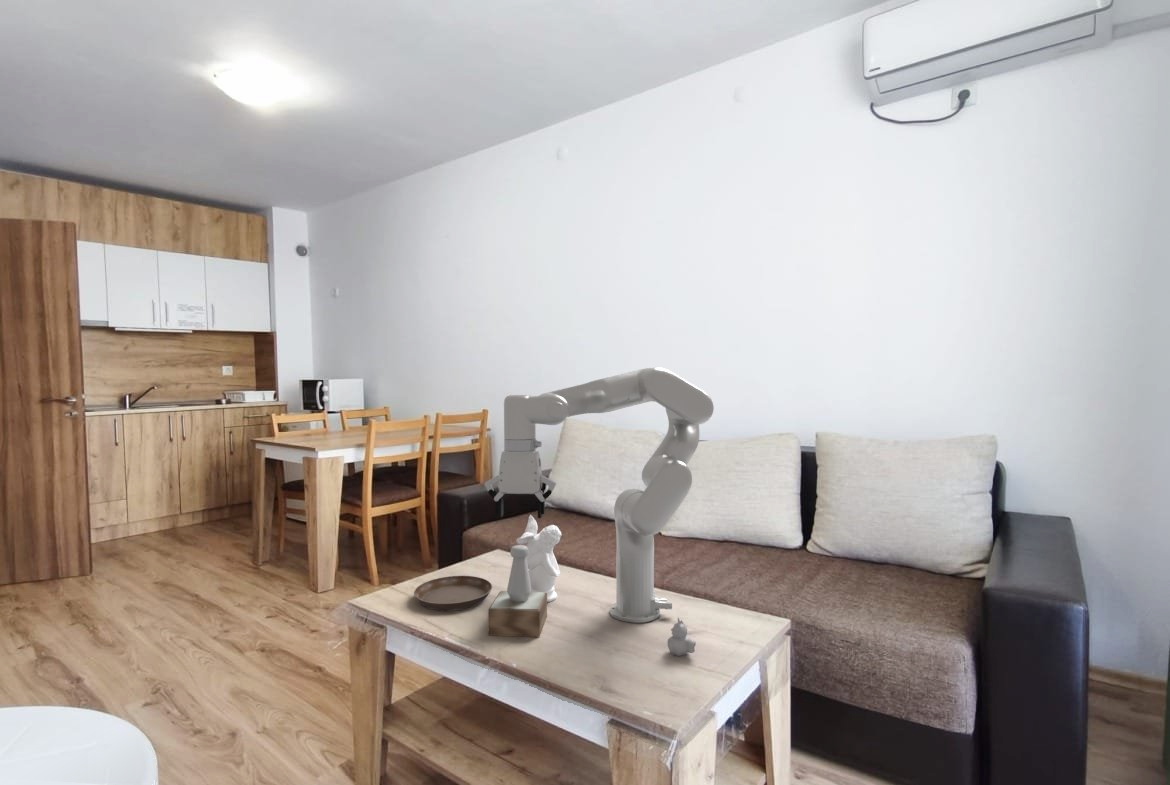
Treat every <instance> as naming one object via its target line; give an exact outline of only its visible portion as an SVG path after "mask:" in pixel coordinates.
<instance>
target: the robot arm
mask: <svg viewBox="0 0 1170 785" xmlns="http://www.w3.org/2000/svg"><path fill="white" fill-rule="evenodd" d="M649 402H656V403H657V404H659V405H660V406H662V407H663V408H665V412H666V415H667V419H668V428H667V431H666V432H667V433H666V434H665V436H664V438H663V439H662V441H661V443H660V444H659V445H658V447H657V448H656V450H654V452H653V454H652V455H651V456H650V458H649V460H647V462H646V463H645V465H644V466H643V468H642V472H641V480H642V482H643V484H644V485H645V486H646V488H645V489H644V490H641V489H639V488H628V489H626V490H624V491H622V492H621V493H620V494H619V495H618V496H617V498H616V499H615V502H614V503H615V504H614V507H613V509H614V510H613V515H614V523H615V524H614V525H615V531H616V532H615V533H616V534H615V535H616V552H615V553H616V555H615V556H616V557H615V558H616V560H615V561H616V562H615V563H616V567H615V568H616V570H615V572H616V575H615V578H616V580H615V582H616V583H615V584H616V585H615V586H616V587H615V589H616V590H615V592H616V593H615V594H616V595H615V596H616V598H615V603H613V604H612V605H611V606H610V608H609V609H610V610H609V612H610V615H611V616H612V617H613V618H614V619H616V620H618V621H620V622H625V623H626V622H627V623H634V624H637V623H638V624H639V623H648V622H649V623H650V622H652V621H654V620H656V619H658V618H659V617H660V616H661V615H660V613H661V609H662V610H673V602H672V601H671V600H670V601H668V599H667V598H658V597H656V595H655V592H654V591H655V590H654V589H655V584H654V583H655V574H654V573H655V541H654V540H655V539H654V537H655V535H656V534H658V533H660V532H661V531H662V530H663V529H664V528H665V527H666V526H667V524H668V523H669V522H670V520H671V519H672V517H673V516H674V514H676V512H677V510H678V509H679V508H680V507H681V504H682V503H683V502H684V500H685V498H687V496H688V494H689V492H690V490H691V488H692V484H693V475H692V471H691V469H690V467H689V466H688V464H689V462H690V461H691V458H692V457H693V456H694V454H695V452H696V450H697V448H698V446H699V443H700V425H703V424H705V423H706V422H708V421H709V420H710V419H711V417H712V416H713V414H714V402H713V400H712V398H711V397H710V395H709V394H708V393H706V392H705V391H704V390H702V389H701V388H699V387H697V386H696V385H694V384H692V383H690V382H689V381H687V380H685V379H684V378H682V377H681V376H679V375H678V374H676V373H674V372H672V371H671V370H669V369H666V368H663V367H648V368H647V367H645V368H641V369H637V370H632V371H628V372H626V373H625V372H624V373H621V374H620V373H619V374H617V375H612V376H608V377H603V378H600V379H595V380H592V381H589V382H586V383H583V384H579V385H577V384H576V385H574V386H570V387H566V388H565V387H564V388H562V389H558V390H557V389H556V390H554V391H553V390H552V391H548V392H545V393H541V394H539V395H537V396H536V395H535V396H534V395H533V396H532V395H531V394H510V395H507V396H506V397H505V398H504V402H503V433H504V434H503V442H504V443H503V446H504V447H503V448H504V450H503V451H501V455H500V460H499V468H498V469H499V470H498V475H496V476H494V477H493V478H490V479H488V480H486V481H485V482H484V483H483V484H484V487H485V488H486V491H487V492H488V495H489V496H491V498H492V499H493V500H494V501H495V514H497V518H498V519H501V518H502V517H504V499H503V497H504V495H505V494H507V495H509V494H510V495H512V494H513V495H535V497H536V498H537V499H538V501H537V519H542V517H543V515H545V514H546V500H547V499H548V498H549V497H550V496H552V495H551V494H552V493H553V491H554V490H555V487H556V485H557V483H556V481H554V480H552V479H551V478H548V477H547V476H545V475H543V474H542V462H541V461H542V460H541V454H540V451H539V450H538V451H537V450H536V449H538V448H542V446H543V445H542V441H539V440H537V438H536V435H537V434H536V425H537V424H538V425H546V426H557V425H559V424H562V423H563V422H565V421H566V420H567V418H569V417H574V416H578V415H579V416H580V415H584V414H604V413H611V412H615V411H618V410H622V409H625V408H629V407H633V406H634V407H635V406H638V405H642V404H645V403H649ZM496 483H498V484H497V485H498V492H497V491H496V489H494V487H493V485H494V484H496ZM543 484H545V485H546V486H548V488H547V490H546V491H544V492H543V490H541V489H543Z"/></svg>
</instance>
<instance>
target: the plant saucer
mask: <svg viewBox="0 0 1170 785" xmlns="http://www.w3.org/2000/svg"><path fill="white" fill-rule="evenodd" d="M492 589H493V584H492V583H491V582H490V581H489V580H487V579H485V578H482V577H478V576H474V575H451V576H444V577H438V578H433V579H431V580H428V581H426V582H423V583H421V584H420V585H418V586H417V587H416V588H415V589H414V592H413V594H414V595H413V596H414V598H416V600H417V601H418V602H419V603H420V604H421V605H422V606H424V607H425V608H427V609H430V610H434V609H435V611H441V610H443V611H444V612H449V611H450V612H452V611H460V610H466V609H469V608H473V607H475V606H477V605H479V604H481V603H482V602H483V601H484V600H485V599H486V598H487V597H488V596H489V595H490V592H491V591H492Z"/></svg>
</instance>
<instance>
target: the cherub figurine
mask: <svg viewBox="0 0 1170 785" xmlns="http://www.w3.org/2000/svg"><path fill="white" fill-rule="evenodd" d="M538 528H539V527H538V523H537V521H536V519H535V518H534V517H533V515H531V514H529V516H528V519H527V525H526V527H525V531H524V533H523V534H521V536H520V537H517V539H516V540H515V542H516V544H517V545H524V544H525V546H526V547H527V548H528V556H526V560H527V566H528V572H529V578H530V584H531V592H545V593H547V603H551V602H553V601H556V599H557V598H558V594H557V592H556V591H555V583H556V578H559V576H560V575H561V571H560V567H559V564H558V562H557V559H556V556H555V554H554V552H553V551H554V547H555V546H556V545H558V543H560V541H561V537H562V531H561V530H560V529H559V527H558V526H557V525H554V524H550V525H547V526H545V527H544V528H542V530H541V531H540V532H538Z"/></svg>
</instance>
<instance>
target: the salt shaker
mask: <svg viewBox="0 0 1170 785" xmlns="http://www.w3.org/2000/svg"><path fill="white" fill-rule="evenodd" d="M526 556H528V548H527V547H526V545H524V544H522V545H521V544H520V545H519V544H517V545H513V546H512V547H511V548H510V557H512V562H511V568H510V573H509V578H508V583H507V589H506V591H507V592H508V594H509V597H510V599H511V601H512V602H516V603H521V602H525V601H527V600H528V598H529V596H530V593H531V584H530V578H529V572H528V571H529V569H528V566H527V560H526Z"/></svg>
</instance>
